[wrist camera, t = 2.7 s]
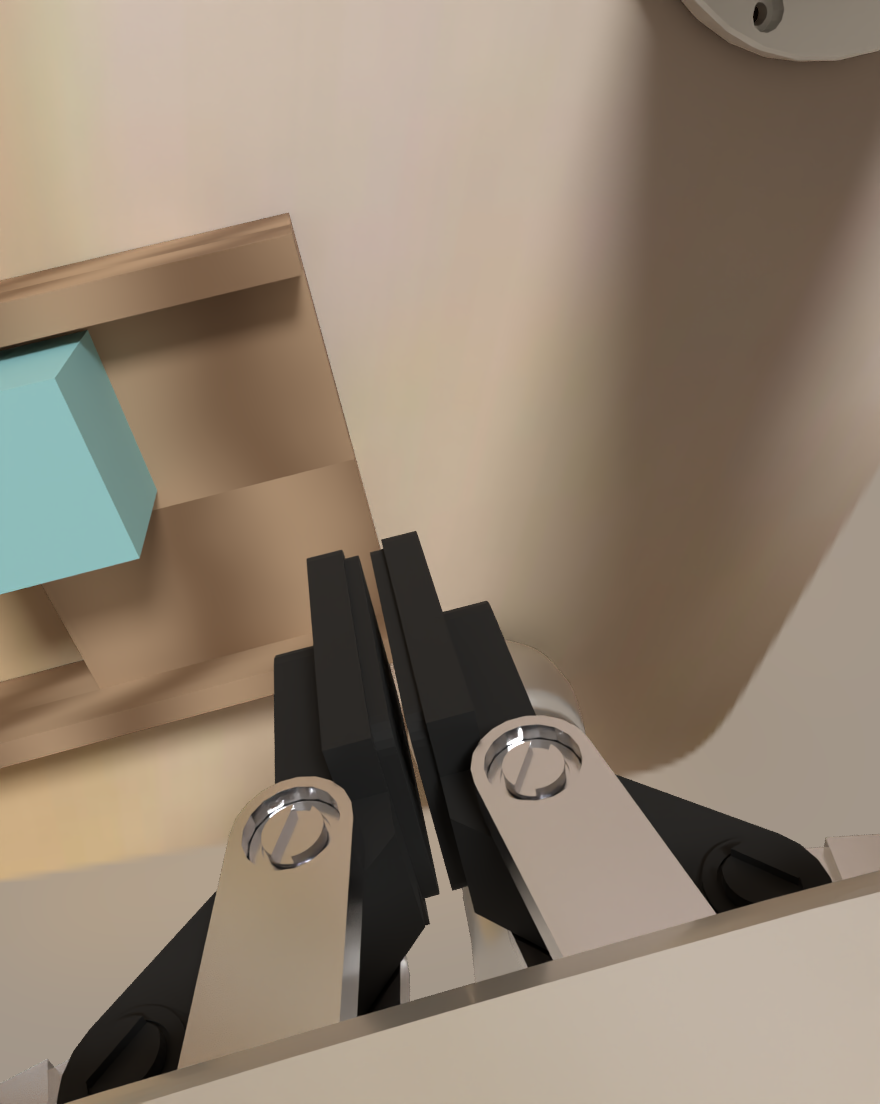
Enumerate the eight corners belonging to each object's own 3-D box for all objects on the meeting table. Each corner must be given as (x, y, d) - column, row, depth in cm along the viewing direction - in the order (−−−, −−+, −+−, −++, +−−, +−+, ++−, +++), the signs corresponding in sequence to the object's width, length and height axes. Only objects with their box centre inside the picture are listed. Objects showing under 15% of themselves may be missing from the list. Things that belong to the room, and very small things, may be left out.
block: (87, 329, 22) (54, 378, 18) (157, 490, 24) (139, 558, 21) (-99, 374, 21) (-167, 432, 18) (-8, 532, 24) (-53, 607, 21)
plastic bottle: (386, 637, 31) (526, 1305, 14) (553, 601, 32) (877, 1201, 15) (410, 754, 35) (546, 1403, 18) (561, 719, 35) (831, 1316, 18)
